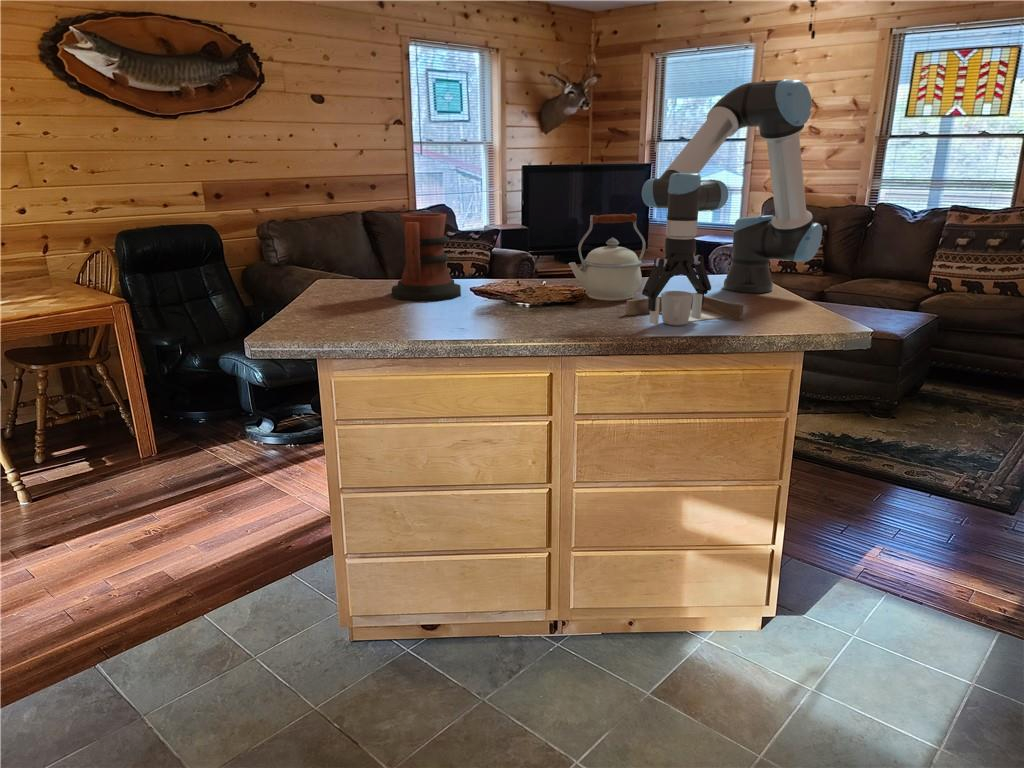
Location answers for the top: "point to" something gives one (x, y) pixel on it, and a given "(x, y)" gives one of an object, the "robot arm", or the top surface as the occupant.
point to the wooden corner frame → (709, 309)
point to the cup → (676, 307)
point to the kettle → (610, 265)
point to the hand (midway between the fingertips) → (675, 320)
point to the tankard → (425, 260)
